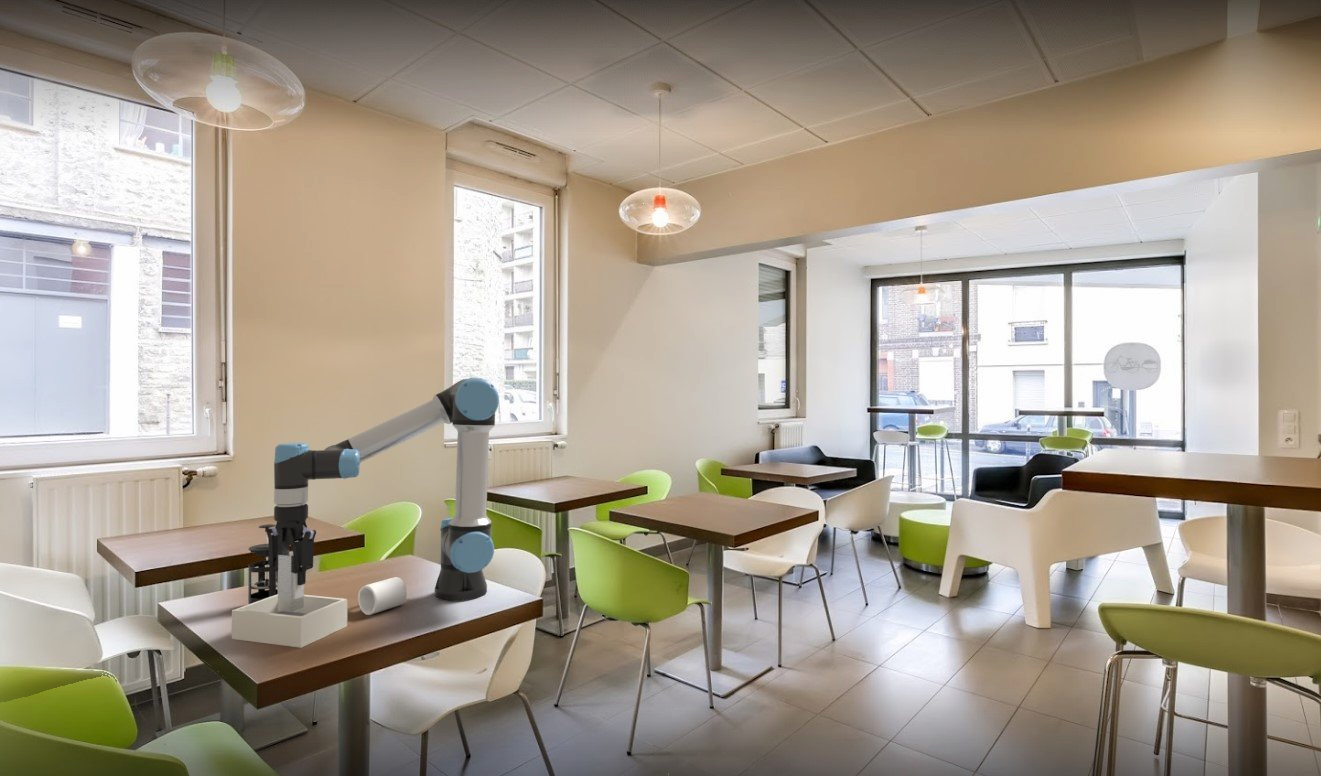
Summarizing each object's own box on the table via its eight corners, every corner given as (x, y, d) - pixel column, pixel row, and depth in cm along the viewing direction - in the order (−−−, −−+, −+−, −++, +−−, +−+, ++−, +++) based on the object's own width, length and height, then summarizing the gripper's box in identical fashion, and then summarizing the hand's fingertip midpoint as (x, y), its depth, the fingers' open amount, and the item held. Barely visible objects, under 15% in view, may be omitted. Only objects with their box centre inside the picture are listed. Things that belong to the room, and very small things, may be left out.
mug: (407, 607, 185) (407, 578, 185) (375, 617, 176) (376, 587, 176) (379, 600, 191) (379, 573, 191) (348, 610, 182) (348, 581, 182)
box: (347, 626, 169) (347, 599, 170) (300, 647, 155) (301, 618, 155) (282, 618, 175) (282, 592, 175) (231, 638, 161) (231, 610, 161)
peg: (290, 612, 163) (291, 556, 163) (277, 610, 164) (278, 554, 164) (303, 607, 167) (304, 552, 167) (290, 605, 168) (291, 551, 168)
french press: (251, 614, 179) (251, 530, 179) (239, 606, 185) (240, 525, 185) (297, 603, 188) (297, 523, 188) (285, 597, 194) (285, 519, 194)
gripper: (330, 503, 167) (329, 595, 166) (276, 500, 171) (276, 589, 171) (307, 508, 159) (306, 604, 159) (251, 505, 164) (251, 598, 164)
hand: (290, 596), depth 165 cm, fingers closed on peg, 4 cm apart
